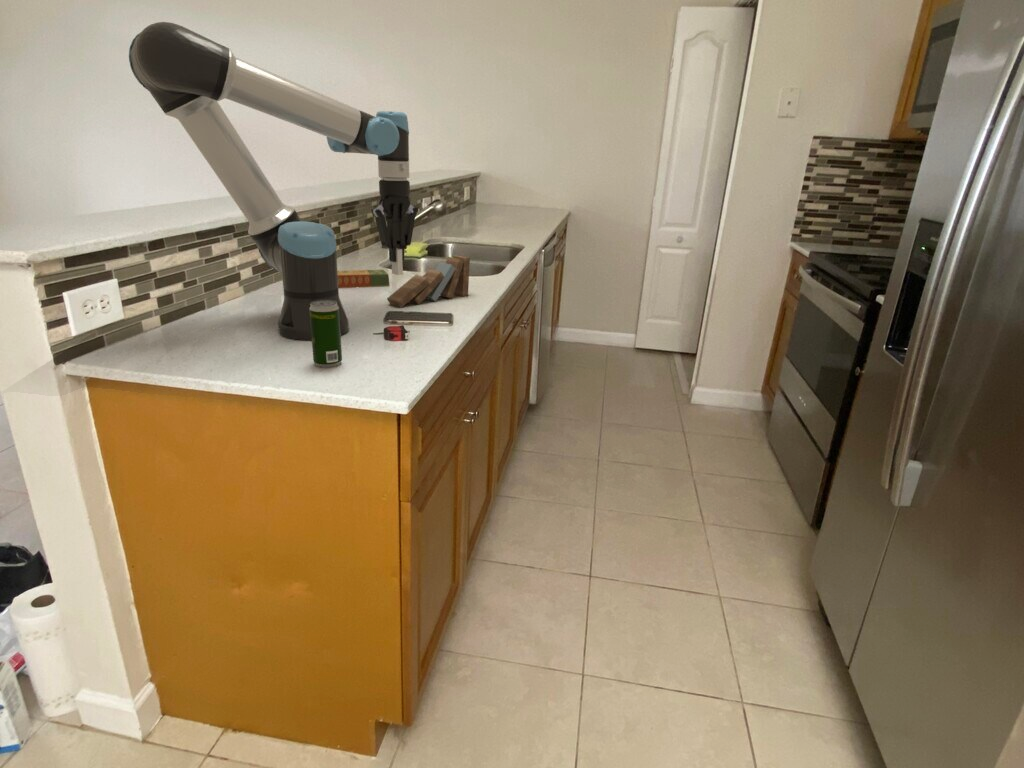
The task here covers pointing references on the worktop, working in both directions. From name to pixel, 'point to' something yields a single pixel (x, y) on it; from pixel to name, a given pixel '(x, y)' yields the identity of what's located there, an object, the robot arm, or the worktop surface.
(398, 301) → the domino
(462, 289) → the domino
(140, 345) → the worktop surface
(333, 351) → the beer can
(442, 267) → the domino
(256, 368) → the worktop surface
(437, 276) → the domino
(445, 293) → the domino
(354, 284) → the carton
